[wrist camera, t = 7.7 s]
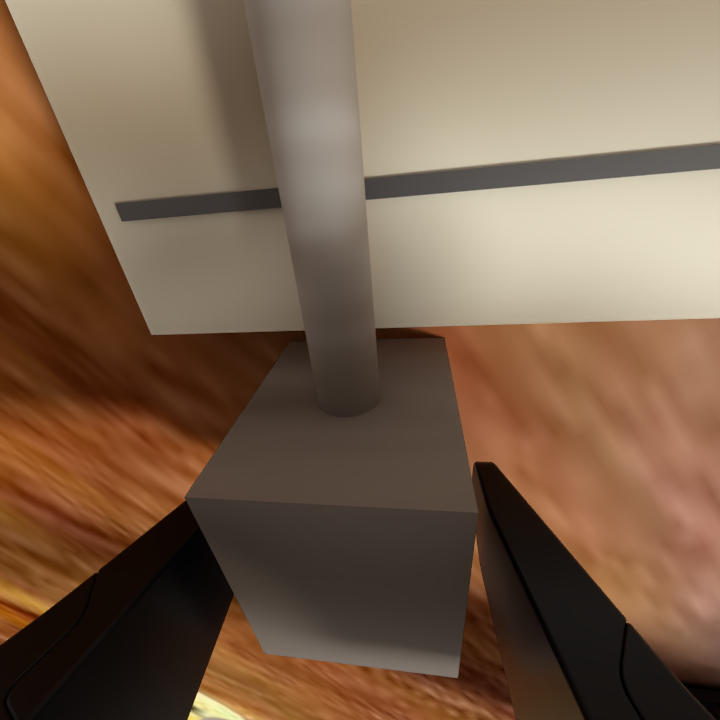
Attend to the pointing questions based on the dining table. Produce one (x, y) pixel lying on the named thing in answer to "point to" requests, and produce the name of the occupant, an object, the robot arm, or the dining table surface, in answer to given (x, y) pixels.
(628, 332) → the dining table surface
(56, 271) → the dining table surface
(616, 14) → the birch plank
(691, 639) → the dining table surface
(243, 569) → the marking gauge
